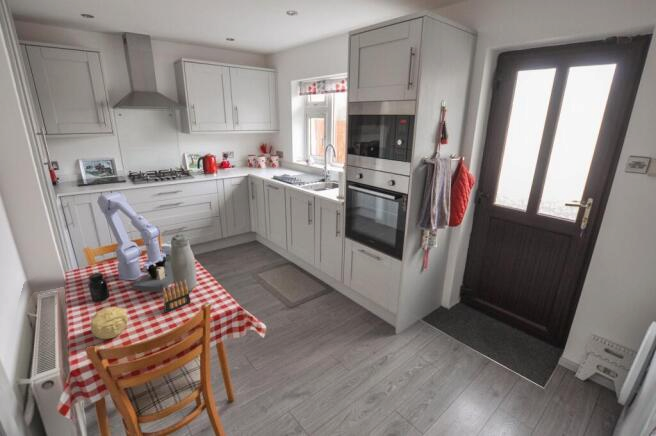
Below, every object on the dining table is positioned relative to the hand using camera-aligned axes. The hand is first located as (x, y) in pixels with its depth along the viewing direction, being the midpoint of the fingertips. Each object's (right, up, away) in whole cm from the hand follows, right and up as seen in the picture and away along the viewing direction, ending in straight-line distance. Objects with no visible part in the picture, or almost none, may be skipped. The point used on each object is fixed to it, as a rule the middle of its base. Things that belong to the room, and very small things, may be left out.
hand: (157, 275), depth 160 cm
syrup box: (0, +1, +16) cm, 16 cm away
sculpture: (+2, -16, -36) cm, 40 cm away
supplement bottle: (-18, -8, -14) cm, 24 cm away
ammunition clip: (+19, -11, -19) cm, 29 cm away
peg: (0, -3, +1) cm, 3 cm away
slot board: (0, -3, +1) cm, 3 cm away
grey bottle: (+17, -6, -6) cm, 19 cm away
